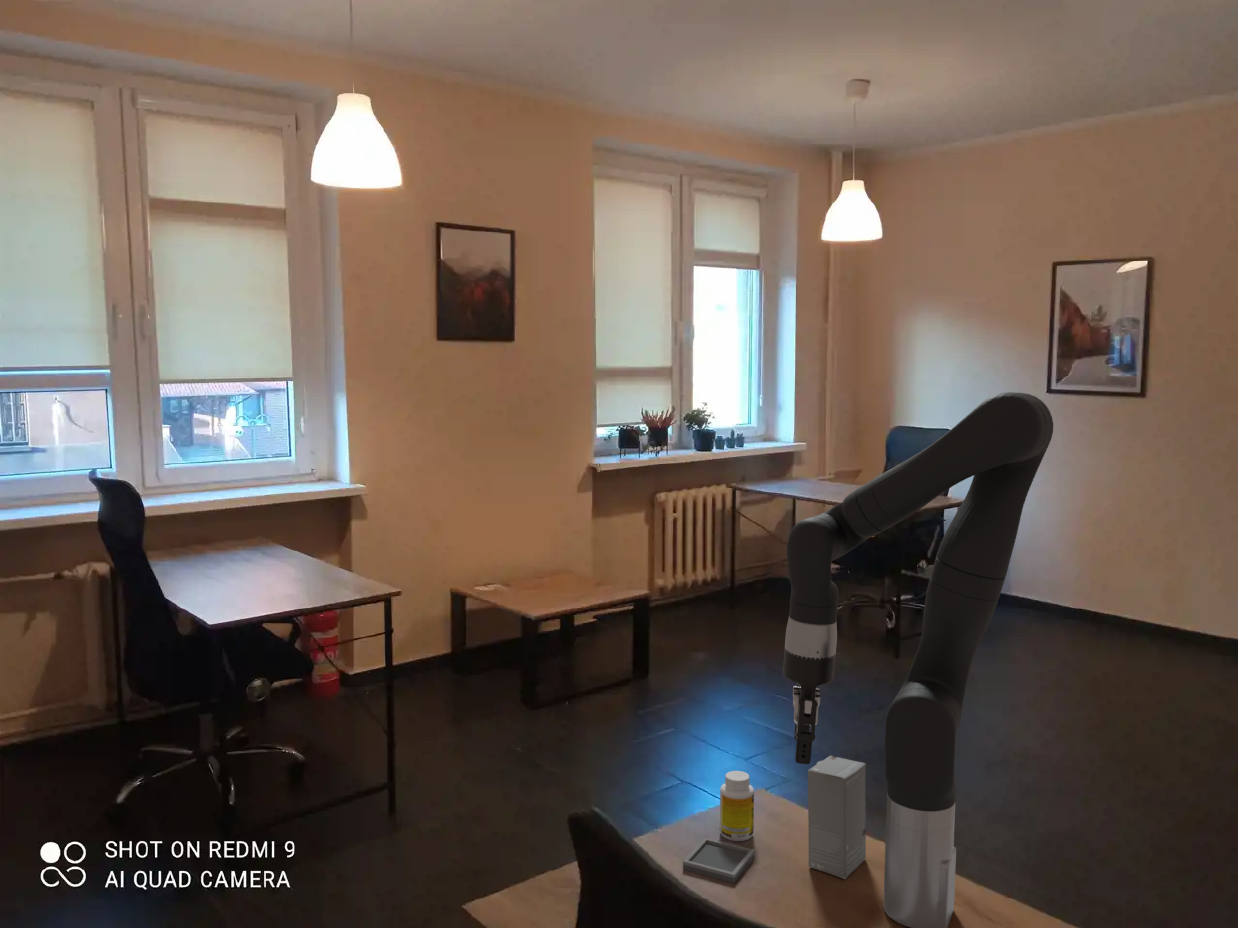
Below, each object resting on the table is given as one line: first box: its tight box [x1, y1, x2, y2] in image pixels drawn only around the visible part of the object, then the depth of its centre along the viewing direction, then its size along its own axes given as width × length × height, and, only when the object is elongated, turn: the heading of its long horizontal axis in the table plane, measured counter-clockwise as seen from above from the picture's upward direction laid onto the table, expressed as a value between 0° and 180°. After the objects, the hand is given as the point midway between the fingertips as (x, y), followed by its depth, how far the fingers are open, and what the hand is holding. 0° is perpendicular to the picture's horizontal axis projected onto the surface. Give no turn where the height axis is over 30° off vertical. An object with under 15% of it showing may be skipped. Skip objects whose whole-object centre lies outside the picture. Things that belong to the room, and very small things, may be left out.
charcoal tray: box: [682, 837, 755, 884], centre depth 152 cm, size 8×8×1 cm
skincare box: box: [807, 755, 867, 880], centre depth 151 cm, size 8×7×16 cm
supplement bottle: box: [719, 770, 755, 842], centre depth 161 cm, size 6×6×10 cm
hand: (801, 750), depth 147 cm, fingers open, 8 cm apart
